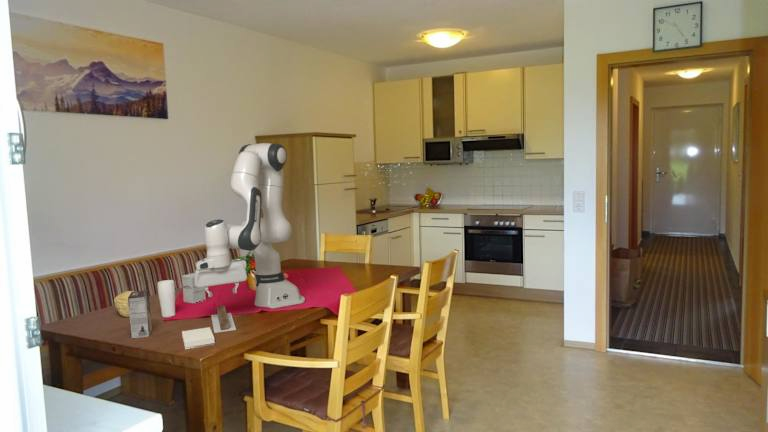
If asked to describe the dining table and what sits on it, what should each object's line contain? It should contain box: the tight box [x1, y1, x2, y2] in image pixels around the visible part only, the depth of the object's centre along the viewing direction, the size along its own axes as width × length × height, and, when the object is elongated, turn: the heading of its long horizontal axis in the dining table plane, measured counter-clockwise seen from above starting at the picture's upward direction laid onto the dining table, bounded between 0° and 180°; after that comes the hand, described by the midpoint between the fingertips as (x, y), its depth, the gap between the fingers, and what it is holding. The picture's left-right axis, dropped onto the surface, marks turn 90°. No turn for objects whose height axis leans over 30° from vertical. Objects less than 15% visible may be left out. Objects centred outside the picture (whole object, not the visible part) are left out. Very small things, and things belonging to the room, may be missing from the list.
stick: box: [216, 304, 229, 330], centre depth 225 cm, size 3×22×4 cm, turn 19°
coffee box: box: [128, 289, 153, 340], centre depth 214 cm, size 9×6×16 cm
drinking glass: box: [157, 279, 176, 319], centre depth 238 cm, size 7×7×15 cm
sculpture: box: [113, 290, 137, 318], centre depth 243 cm, size 12×12×11 cm
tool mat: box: [210, 312, 237, 334], centre depth 225 cm, size 8×26×1 cm, turn 19°
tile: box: [181, 326, 216, 350], centre depth 204 cm, size 10×3×14 cm
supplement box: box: [181, 272, 207, 304], centre depth 262 cm, size 7×7×13 cm
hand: (222, 294), depth 225 cm, fingers open, 8 cm apart
